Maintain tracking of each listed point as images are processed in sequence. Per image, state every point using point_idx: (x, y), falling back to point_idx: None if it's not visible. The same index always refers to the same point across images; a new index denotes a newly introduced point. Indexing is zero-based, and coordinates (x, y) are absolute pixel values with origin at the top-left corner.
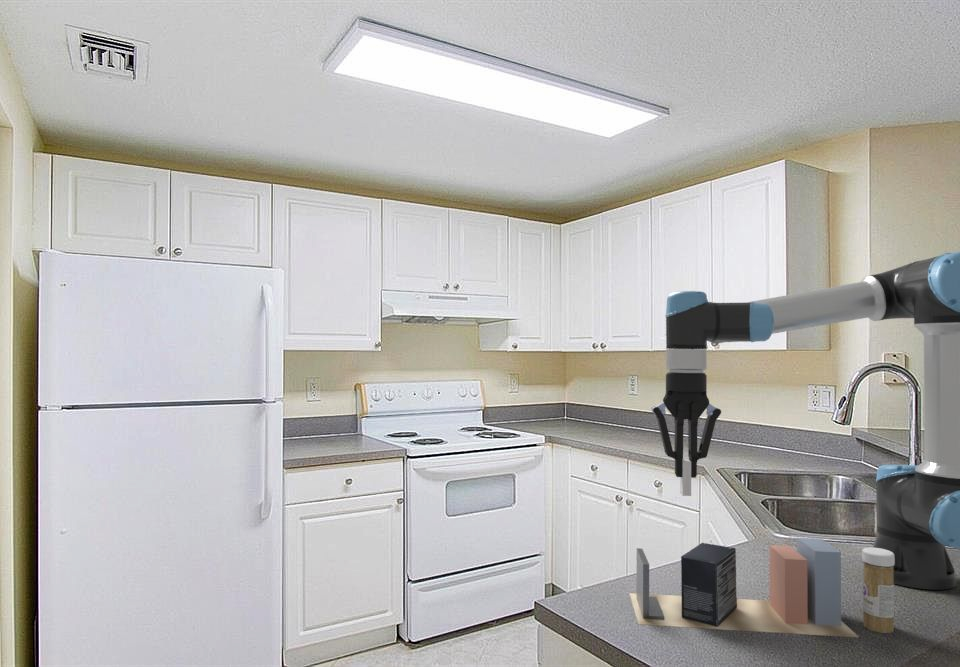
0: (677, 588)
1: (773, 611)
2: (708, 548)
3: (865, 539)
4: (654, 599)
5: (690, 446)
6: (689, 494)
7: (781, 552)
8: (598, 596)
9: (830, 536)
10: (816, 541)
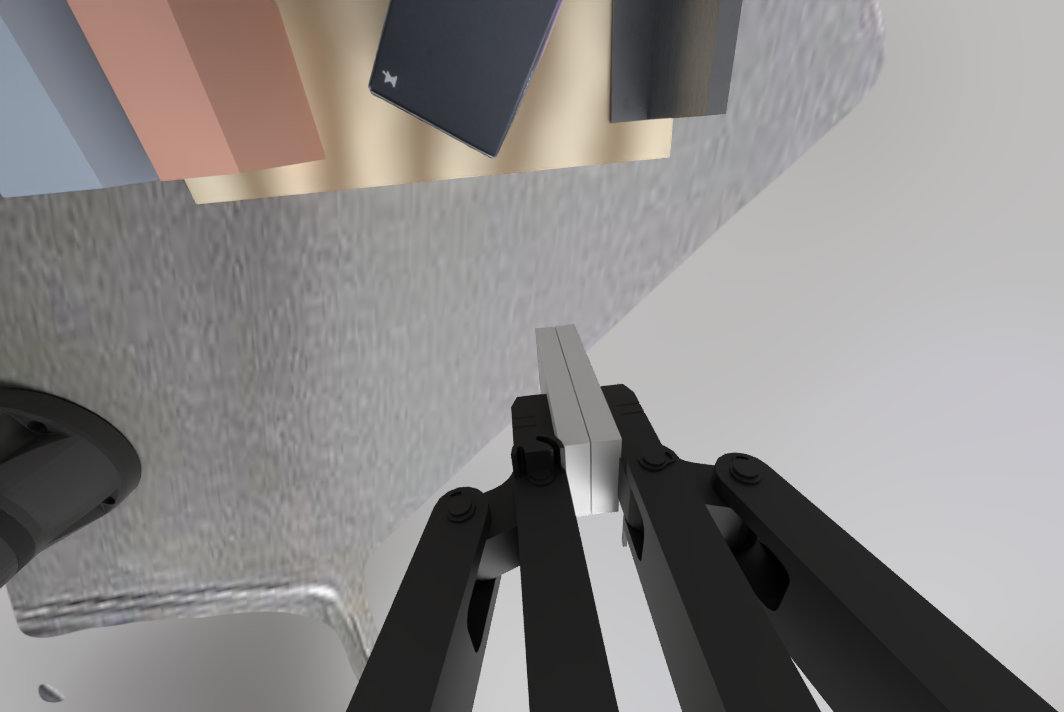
0: (540, 259)
1: (314, 104)
2: (477, 50)
3: (171, 609)
4: (619, 98)
5: (586, 570)
6: (543, 331)
7: (172, 54)
8: (735, 154)
9: (235, 607)
10: (6, 141)
